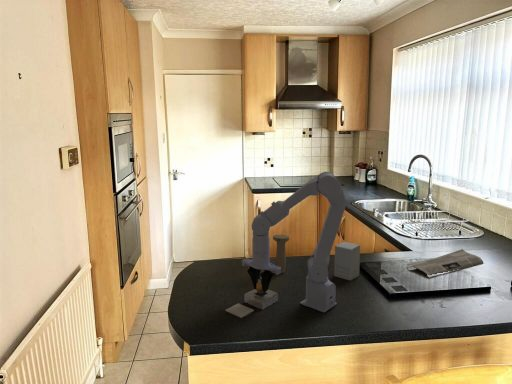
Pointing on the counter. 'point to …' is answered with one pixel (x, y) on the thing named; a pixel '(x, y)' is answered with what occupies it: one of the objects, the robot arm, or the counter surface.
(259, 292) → the amber medicine bottle
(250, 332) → the counter surface
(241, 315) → the mat
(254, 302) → the block
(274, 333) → the counter surface
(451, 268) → the newspaper
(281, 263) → the handle
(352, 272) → the supplement box
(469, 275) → the counter surface
